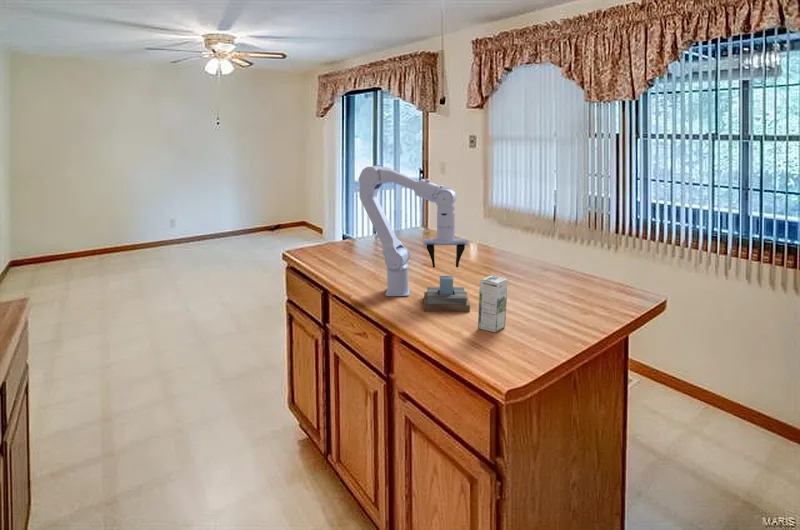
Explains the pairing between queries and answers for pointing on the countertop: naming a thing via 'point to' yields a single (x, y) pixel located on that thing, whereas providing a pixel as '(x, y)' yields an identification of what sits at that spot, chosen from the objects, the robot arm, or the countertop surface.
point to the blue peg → (446, 285)
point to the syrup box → (492, 303)
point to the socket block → (446, 300)
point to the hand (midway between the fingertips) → (445, 266)
